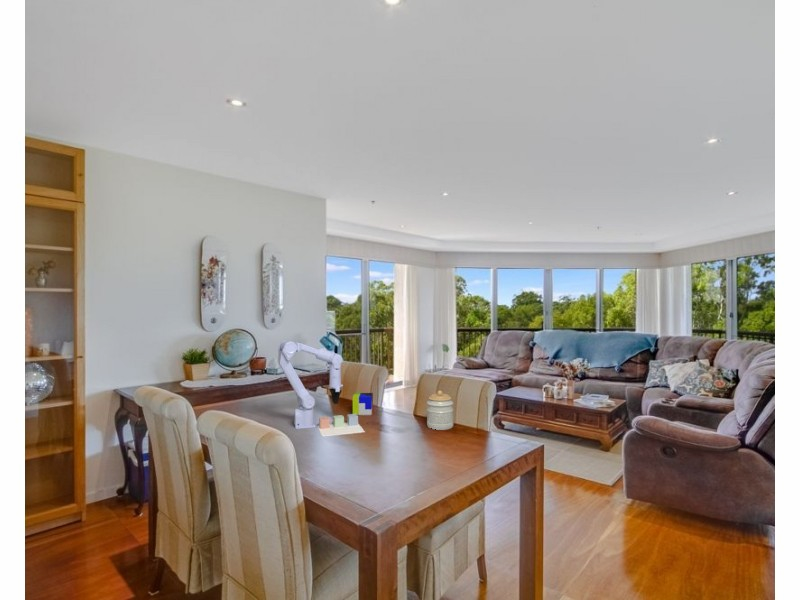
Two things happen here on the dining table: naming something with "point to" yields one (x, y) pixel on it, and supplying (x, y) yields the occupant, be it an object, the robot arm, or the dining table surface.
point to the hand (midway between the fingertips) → (335, 403)
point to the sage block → (338, 421)
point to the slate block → (352, 419)
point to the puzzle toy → (363, 403)
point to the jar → (440, 411)
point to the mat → (340, 430)
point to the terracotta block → (324, 422)
